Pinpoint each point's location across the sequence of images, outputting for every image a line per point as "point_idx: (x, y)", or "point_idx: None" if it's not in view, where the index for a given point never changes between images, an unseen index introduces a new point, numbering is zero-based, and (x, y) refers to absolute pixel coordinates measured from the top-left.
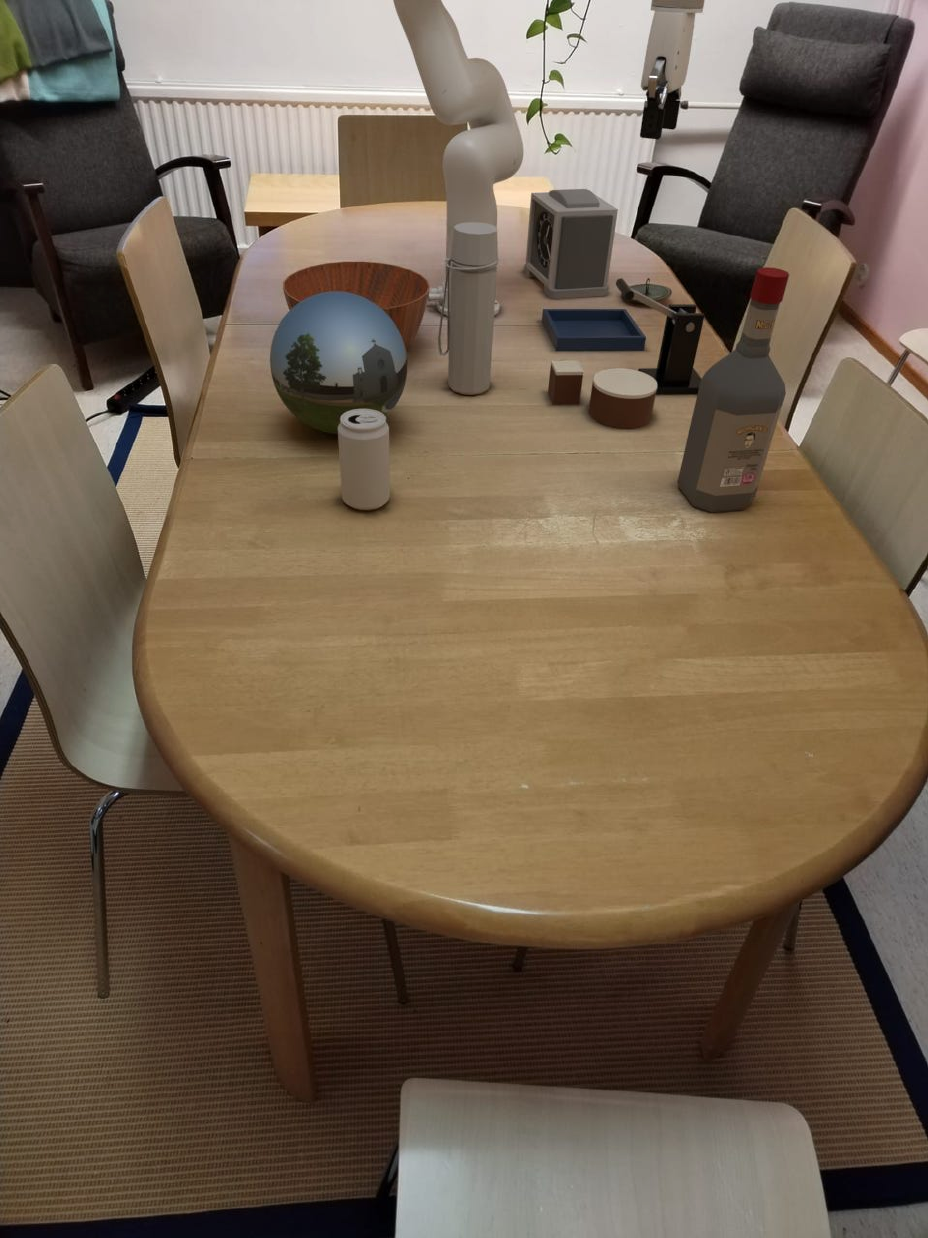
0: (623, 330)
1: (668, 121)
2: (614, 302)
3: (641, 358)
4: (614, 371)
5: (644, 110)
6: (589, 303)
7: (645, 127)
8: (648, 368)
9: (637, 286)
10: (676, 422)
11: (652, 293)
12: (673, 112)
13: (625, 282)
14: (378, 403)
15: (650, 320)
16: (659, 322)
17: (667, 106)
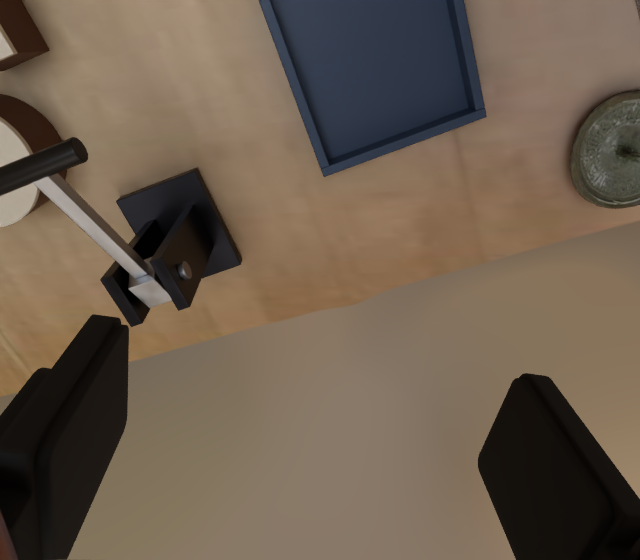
0: (407, 119)
1: (504, 460)
2: (600, 76)
3: (281, 168)
4: (4, 143)
5: (7, 438)
6: (587, 11)
7: (29, 380)
8: (202, 189)
9: None
10: (37, 246)
11: (630, 164)
12: (518, 526)
13: (49, 168)
14: None
15: (494, 169)
16: (486, 188)
17: (550, 523)
